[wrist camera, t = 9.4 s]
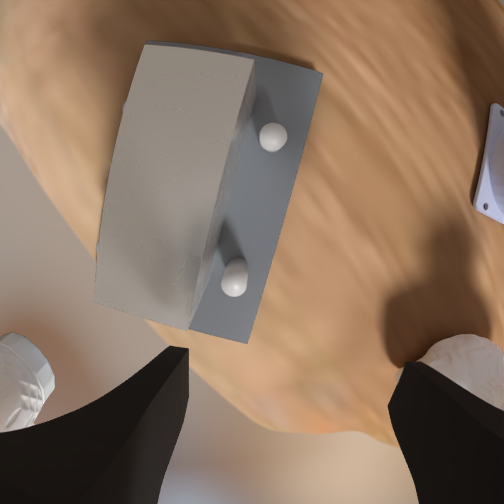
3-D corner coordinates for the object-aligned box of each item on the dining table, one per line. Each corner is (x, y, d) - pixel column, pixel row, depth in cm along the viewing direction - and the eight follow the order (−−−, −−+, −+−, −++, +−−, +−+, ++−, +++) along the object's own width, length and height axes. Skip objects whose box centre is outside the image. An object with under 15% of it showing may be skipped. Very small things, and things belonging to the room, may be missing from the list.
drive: (256, 98, 15) (254, 59, 9) (210, 278, 17) (187, 331, 11) (182, 83, 14) (144, 44, 9) (143, 259, 17) (94, 301, 11)
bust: (477, 353, 22) (574, 329, 12) (464, 432, 19) (564, 432, 9) (383, 328, 21) (501, 289, 11) (362, 427, 18) (483, 450, 8)
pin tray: (319, 78, 15) (333, 58, 12) (247, 335, 19) (245, 367, 16) (152, 46, 15) (131, 24, 11) (101, 293, 19) (75, 316, 15)
